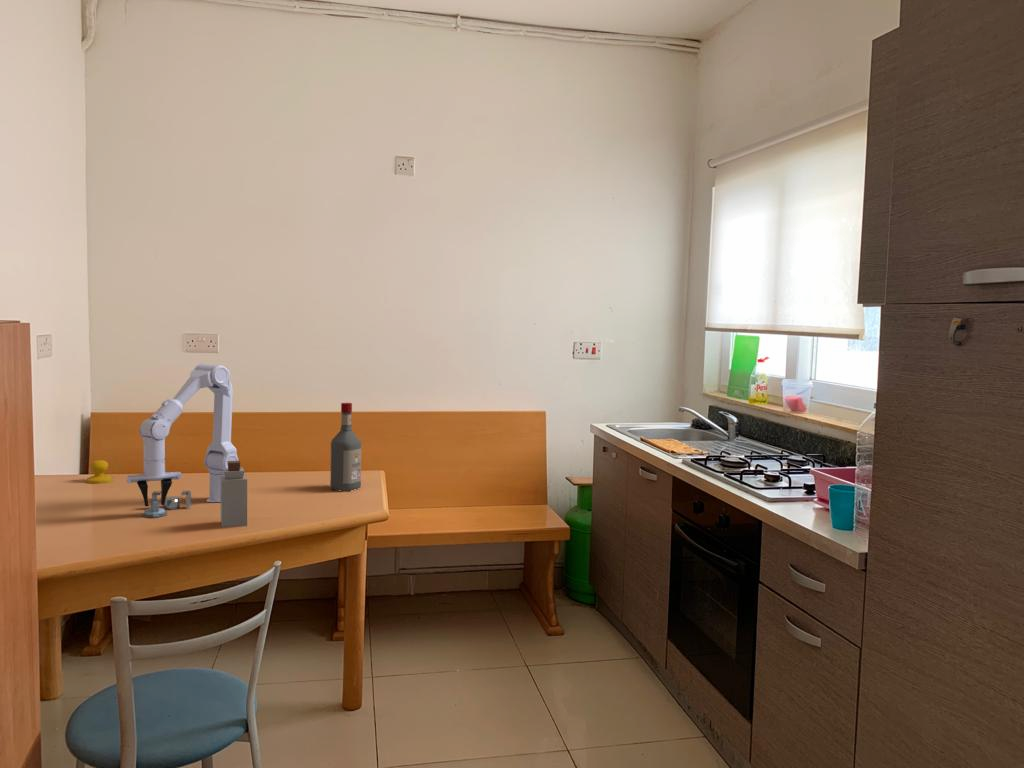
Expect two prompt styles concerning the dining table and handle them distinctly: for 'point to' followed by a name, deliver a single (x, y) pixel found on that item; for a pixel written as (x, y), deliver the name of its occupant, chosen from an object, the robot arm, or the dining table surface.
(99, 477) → the doorknob
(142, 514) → the pad
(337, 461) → the liquor
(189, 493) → the metal ball with blocks
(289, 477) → the dining table surface
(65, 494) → the dining table surface
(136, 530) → the dining table surface
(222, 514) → the perfume bottle
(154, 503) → the cap
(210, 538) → the dining table surface
